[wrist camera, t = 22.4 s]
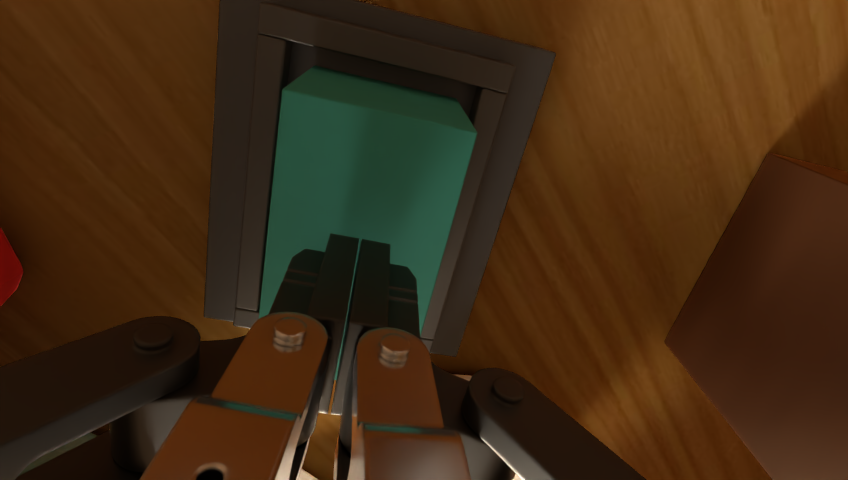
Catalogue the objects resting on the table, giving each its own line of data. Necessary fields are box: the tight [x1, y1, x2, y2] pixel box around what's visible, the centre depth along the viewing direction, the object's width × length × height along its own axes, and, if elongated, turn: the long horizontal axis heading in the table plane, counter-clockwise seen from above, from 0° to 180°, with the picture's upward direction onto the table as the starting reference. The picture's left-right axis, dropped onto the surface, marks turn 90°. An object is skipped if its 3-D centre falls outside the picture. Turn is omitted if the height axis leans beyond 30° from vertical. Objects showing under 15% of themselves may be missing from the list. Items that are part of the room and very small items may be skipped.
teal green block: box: [259, 66, 477, 380], centre depth 15 cm, size 8×4×4 cm, turn 167°
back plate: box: [204, 0, 556, 357], centre depth 17 cm, size 12×10×2 cm
